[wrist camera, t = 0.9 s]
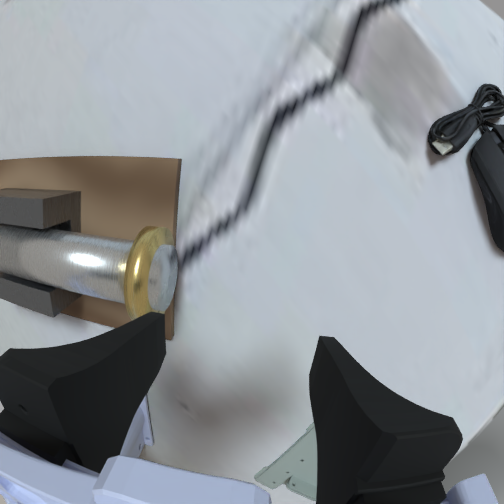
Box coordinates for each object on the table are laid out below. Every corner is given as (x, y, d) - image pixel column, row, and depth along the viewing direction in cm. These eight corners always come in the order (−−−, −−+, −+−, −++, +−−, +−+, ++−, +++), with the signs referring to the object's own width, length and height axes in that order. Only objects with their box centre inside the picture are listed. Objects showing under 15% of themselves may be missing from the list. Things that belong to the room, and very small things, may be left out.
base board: (173, 335, 24) (171, 340, 23) (-9, 284, 25) (-14, 286, 24) (181, 159, 20) (178, 158, 19) (-18, 161, 21) (-23, 162, 20)
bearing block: (85, 293, 23) (53, 317, 18) (12, 273, 23) (-19, 290, 19) (81, 191, 21) (42, 199, 16) (6, 188, 21) (-30, 195, 16)
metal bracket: (423, 469, 21) (335, 526, 25) (418, 435, 26) (341, 495, 31) (314, 416, 24) (241, 483, 28) (322, 384, 29) (256, 454, 34)
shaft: (180, 302, 22) (151, 346, 16) (24, 268, 22) (-19, 292, 16) (184, 220, 20) (149, 242, 14) (19, 204, 21) (-30, 217, 15)
